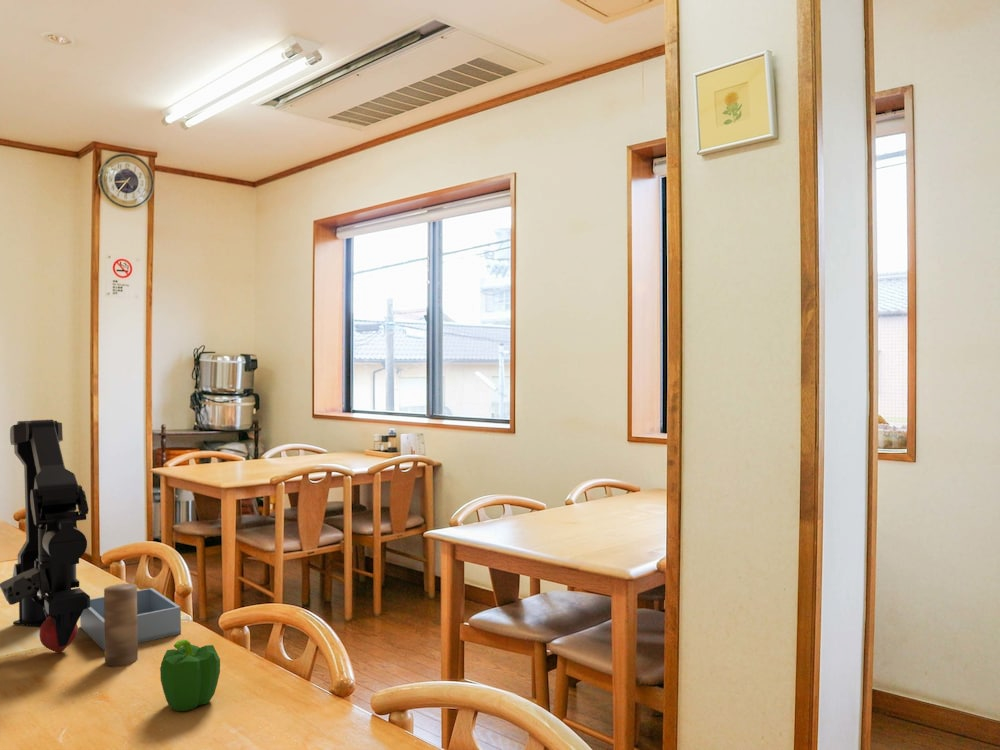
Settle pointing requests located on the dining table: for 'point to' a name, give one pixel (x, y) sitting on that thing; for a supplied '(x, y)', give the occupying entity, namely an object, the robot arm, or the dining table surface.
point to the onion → (53, 636)
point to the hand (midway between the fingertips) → (58, 641)
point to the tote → (152, 617)
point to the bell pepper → (189, 675)
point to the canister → (120, 624)
